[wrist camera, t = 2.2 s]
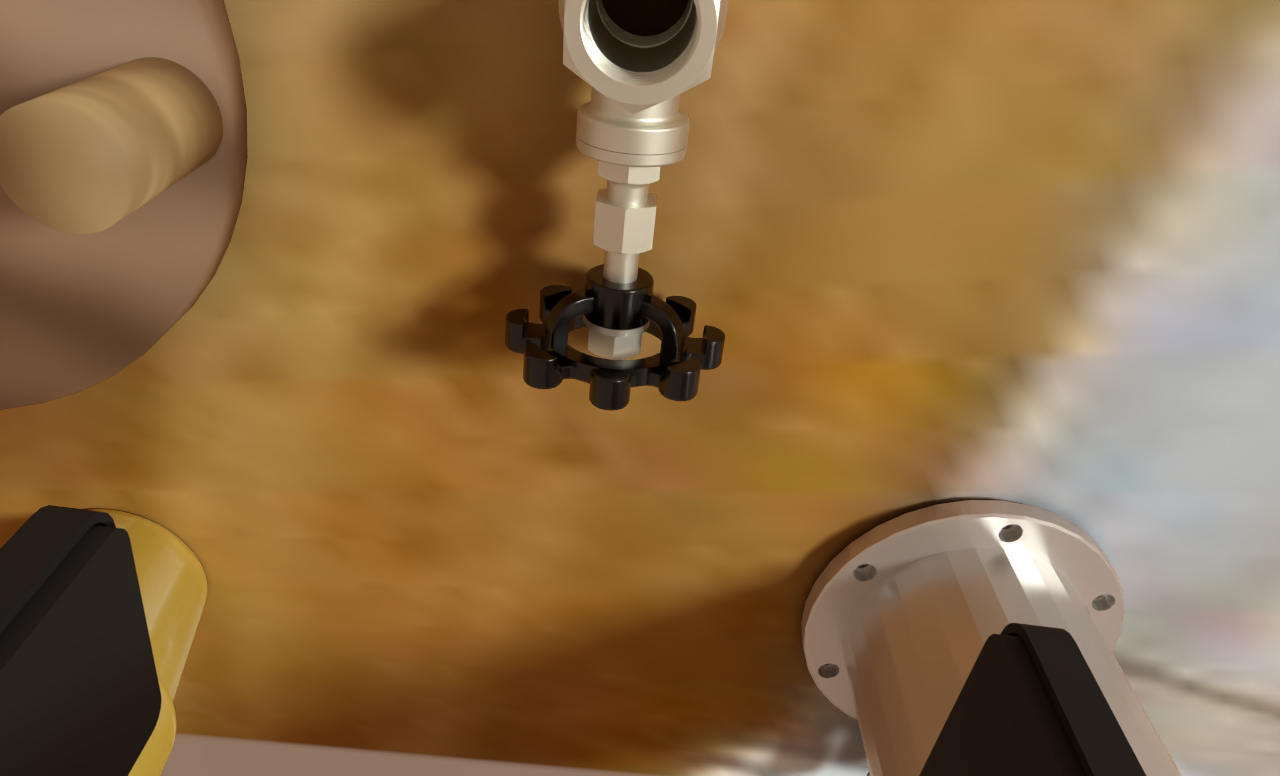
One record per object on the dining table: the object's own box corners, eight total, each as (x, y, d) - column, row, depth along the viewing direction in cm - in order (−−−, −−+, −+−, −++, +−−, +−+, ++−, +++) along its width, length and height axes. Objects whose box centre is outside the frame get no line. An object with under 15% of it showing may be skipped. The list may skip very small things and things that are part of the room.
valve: (529, -110, 24) (520, 297, 30) (487, -99, 18) (486, 401, 24) (774, -85, 24) (715, 315, 30) (810, -66, 18) (727, 421, 24)
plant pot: (-25, 440, 33) (-257, 638, 25) (256, 497, 34) (124, 705, 26) (7, 631, 38) (-176, 848, 30) (250, 675, 39) (139, 896, 31)
